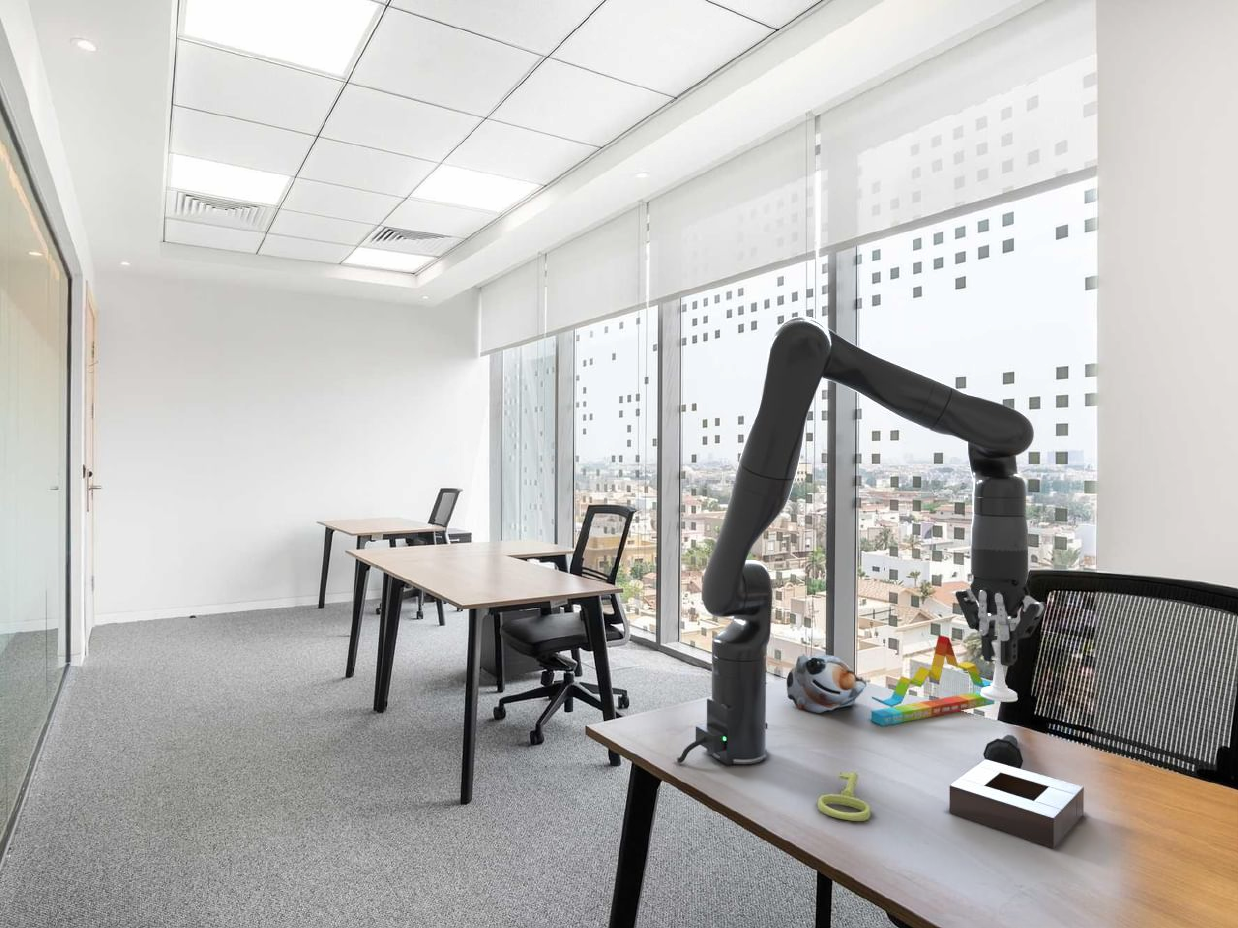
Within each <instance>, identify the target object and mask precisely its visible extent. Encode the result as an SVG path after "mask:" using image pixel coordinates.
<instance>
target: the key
mask: <svg viewBox="0 0 1238 928" xmlns="http://www.w3.org/2000/svg"><path fill="white" fill-rule="evenodd" d="M858 778H859V775H858V773H857V772H855V771H851V772H850V773H846V772H841V771H840V772H839V775H838V779H841V780H847V783H846V786H845V789H843V790H842V791H841V792H840V794H835V793H830V794H824V795H823V794H822V795H821V796H819V798H818V801H817V808H818V810H819V812H821V813H822V814H825V815H826V816H829V817H833V818H836V819H840V820H845V821H851V822H852V821H853V822H864V821H867V820H869V819H870V817H871V813H872V811H871V807H870V805H869V804H868V803H867V802H866V801H864V800H862V799H859V798H857V797H855V795H854V791H855V789H856V785H857V781H858ZM828 805H840V806H841V805H842V806H846V807H851V808H854V809H857V810H860V812H859V811H858V812H846V811H840V810H837V809H834V808H832V807H830V806H828Z"/></svg>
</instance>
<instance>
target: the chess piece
mask: <svg viewBox="0 0 1238 928" xmlns="http://www.w3.org/2000/svg"><path fill="white" fill-rule="evenodd" d="M996 636H997V640H993V641H992V642H991V643H992V646H993V649H994V652H995V656H991V659H992V660H995V661H994V662H995V663H994V670H993V677H992V678H993V679H992V683H991V684H990V685H991V686H988V687H984V688H982V687H981V689H980V691H981V693H980V695H981V696H982V697H984V698H987V699H990V700H994V702H1000V703H1001V702H1003V703H1013V702H1017V701H1018V699H1019V698H1018V693H1017V692H1016V691H1014V690H1013V689H1011V688H1008V685H1007V684H1006V681H1005V680H1006V679H1005V673H1004V666H1003V665H1001V640H1002V637H1001V628H997V631H996Z"/></svg>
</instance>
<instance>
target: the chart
mask: <svg viewBox="0 0 1238 928" xmlns="http://www.w3.org/2000/svg"><path fill="white" fill-rule="evenodd" d="M936 641H937V642H936V645H935V650H934V654H933V658H932V663H931V666H930V668H926V667H923V666H919V667H918V668H917V671H916V672H915V674H914V676H913V677H912V678H908V677H905V676H902V675H900V678H899V680H898V682H897V684H896V686H895V688H894V690H893V693H892V695H891V696H890V697H888V698H886V699H883V700H882V699H879V698H877V697H874V696H871V699H872V700H874V701H876V702H878V703H880V704H882V705H885V706H888V707H886V708H880V709H874V710H871V712H870V713H871V715H870V717H871V722H873V723H876V724H877V725H880V726H882V727H883V726H888V725H893V724H898V723H899V724H900V723H904V722H909V721H915V720H920V719H925V718H929V717H935V716H941V715H945V714H952V713H956V712H961V711H962V712H963V711H966V710H971V709H977V708H980V707H981V708H982V707H986V706H991V705H995V701H994V700H990V699H987V698H984V697H982V696H981V695H980V693H981V690H980V691H979V690H978V691H974V692H969V693H964V694H958V695H953V696H946V697H942V698H935V699H930V700H924V701H919V702H913V703H908V704H903V705H900V704H902V702H903V700H904V698H905V696H906V694H907V692H908V690H909V688H910V685H913V686H916V687H919V688H921V687H922V686H923V684H925V681H926V680H927V678H930V679H933V680H936V681H939V682H940V681H941V677H942V673H943V669H944V668H943V667H944V663H945V661H946V664H947V665H950V666H952V667H955V668H956V667H957V668H959V669H962V670H965V671H967V672H968V674H969V677H970V679H971V683H972V685H973V686H976V687H980V688H981V689H982V688H984V687H988V686H991V685H990V684H991V683H993V681H987V680H985V679H982V676H981V675H980V672H979V669H978V667H977V664H975V663H971V662H968V661H963V662H960V663H958V662H957V658H956V655H955V652H954V648H953V646H952V642H951V639H950V637H948V636H944V635H941V634H939V635H937V640H936Z"/></svg>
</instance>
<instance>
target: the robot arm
mask: <svg viewBox="0 0 1238 928" xmlns="http://www.w3.org/2000/svg"><path fill="white" fill-rule="evenodd" d="M764 376H765V377H764V384H763V389H762V394H761V399H760V404H759V406H758V409H757V412H756V415H755V417H754V420H753V421H752V424H751V427H750V429H749V431H748V433H747V437H746V439H745V442H744V445H743V448H742V451H741V454H740V456H739V461H738V463H737V468H736V472H735V475H734V480H733V483H732V489H731V493H730V497H729V499H728V500H729V501H728V504H727V506H726V507H727V508H726V511H725V514H724V516H723V517H724V518H723V521H722V524H721V527H720V529H719V533H718V536H717V538H716V541H715V543H714V547H713V548H712V551H711V555H710V556H709V560H708V562H707V565H706V568H705V570H704V574H703V579H702V584H701V600H702V602H703V605H704V608H705V610H706V611H707V612H708V613H709V614H710V615H712V616H714V617H717V618H732V621H731V622H730V623H729V624H728V625H727V626H726V627H725V628H723V630H721V631H719V632H718V633H716V634H715V635H714V637H712V641H711V697H708V698H707V699H706V723H703V724H698V725H695V741H693V742H691V743H689V744H688V745H687V746H685V748H684V749H683V751H682V753H681V755H680V757H677V758H676V760H677V761H676V762H677V763H678V764H681V763H683V762H684V761H685V760H686V758H687V756H688V754H689V753H690V752H691V751H692V750H694V749H696V748H697V747H698V746H701V747H703V748H705V749H706V754H709V755H710V756H712V757H713V758H715V759H717V760H718V761H720V762H722V763H723V764H726V765H727V766H730V765H754V764H758V763H760V762H762V761H764V760H765V759H766V758H767V749H766V748H767V747H766V746H767V743H766V742H767V737H766V736H767V730H768V723H767V647H768V645H769V643H770V639H771V630H772V611H773V585H772V584H773V583H772V579H771V576H770V573H769V571H768V569H767V567H766V566H765V565H764V564H763V563H761V562H760V561H758V560H753V559H748V557H749V555H750V553H751V551H752V548H754V546H755V544H756V543H757V541H758V540H759V539H760V538H761V536H762V535H763V534H764V533H765V532H766V531H767V530H768V529H769V527H771V525H772V524H773V523H774V522H775V521H776V519H777V518H778V517H779V516H780V515H781V513H782V512H783V510H784V509H785V507H786V505H787V504H788V502H789V499H790V497H791V494H792V490H793V487H794V483H795V480H796V477H797V473H798V468H799V464H800V459H801V454H802V449H803V444H804V443H803V442H804V436H805V428H806V424H807V418H808V416H809V412H810V409H811V407H812V404H813V401H814V399H815V396H816V393H817V391H818V388H819V386H820V384H821V383H822V382H821V381H822V379H824V380H826V381H830V382H833V383H836V384H839V385H841V386H844V387H846V388H848V389H850V390H852V391H853V392H856V393H858V394H860V395H861V396H863V397H865V398H867V399H868V400H870V401H872V402H873V403H875V404H877V405H878V406H880V407H882V408H883V409H885V410H886V411H888V412H890V413H891V414H894V415H895V416H897V417H899V418H902V419H904V420H906V421H908V422H911V423H913V424H914V425H917V426H919V427H922V428H924V429H927V430H929V431H931V432H934V433H936V434H941V435H945V436H952V437H955V438H957V439H960V440H962V441H964V442H966V448H967V457H968V463H969V468H970V474H971V478H972V484H973V487H972V488H973V489H972V520H971V525H970V574H971V575H972V580H971V582H970V586H969V587H968V588H965V589H963V590H956V592H955V593H954V595H955V598H956V601H957V603H958V605H959V607H960V610H961V613H962V614H963V616H964V619H965V622H966V624H967V625H968V628H969V629H971V630H976V631H977V632H978V633H979V634H980V636H981V640H980V641H981V644H980V645H981V651H980V652H981V655H982V657H983V660H984V662H988V663H993V662H995V660H992V659H991V656H995V652H994V649H993V646H992V643H991V642H992V641H993V640H997V629H998V624H999V626H1000V629H1001V665H1003V667H1010V666H1013V665H1015V663H1016V662H1017V660H1018V641H1019V640H1020V639H1025V638H1030V637H1032V634H1033V633H1034V631H1035V629H1036V628H1037V626H1038V624H1039V623H1040V621H1041V619H1042V618H1043V616H1044V614H1045V612H1046V611H1047V609H1048V605H1047V604H1046V602H1043V601H1041V602H1039V601H1037V600H1036V599H1035V598H1033V597H1032V596H1031V595H1030V590H1029V588H1028V586H1027V580H1028V578H1029V529H1028V521H1027V487H1026V483H1025V480H1024V479H1023V478H1022V476H1020V475H1019V473H1018V465H1017V456H1019V455H1021V454H1023V453H1024V452H1026V451H1027V450H1028V449H1029V448H1030V446H1031V445H1032V443H1033V441H1034V438H1035V437H1034V436H1035V431H1034V427H1033V424H1032V422H1031V421H1030V419H1029V418H1028V417H1027V416H1026V415H1025V414H1024V413H1022V412H1021V411H1019V410H1018V409H1015V408H1012V407H1010V406H1008V405H1005V404H1002V403H999V402H996V401H992V400H989V399H986V398H982V397H980V396H976V395H972V394H969V393H966V392H963V391H961V390H959V389H957V388H955V387H952V386H951V385H948V384H946V383H944V382H941V381H939V380H937V379H935V378H932V377H930V376H927V375H925V374H922V373H921V372H920V373H919V372H917V371H915V370H913V369H909V368H908V367H904V366H902V365H900V364H897V363H894V362H892V361H889V360H887V359H884V358H882V357H880V356H878V355H875V354H873V353H871V352H869V351H867V350H865V349H863V348H861V347H860V346H858V345H856V344H854V343H852V342H850V341H849V340H847V339H845V338H844V337H842V336H841V335H839V334H837V333H836V332H835V331H833V330H831V329H830V328H829V327H827V326H825V325H824V324H823V323H822V322H821V321H820V320H817V319H815V318H813V317H810V316H804V315H803V316H796V317H792V318H790V319H788V320H786V321H784V322H783V323H782V324H780V325H779V327H778V328H777V329H776V331H775V332H774V334H773V335H772V337H771V340H770V341H769V345H768V352H767V362H766V370H765V375H764ZM747 559H748V560H747ZM1022 607H1023V608H1022ZM1021 608H1022V612H1024V613H1023V615H1022V616H1021V611H1020V610H1021Z"/></svg>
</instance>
